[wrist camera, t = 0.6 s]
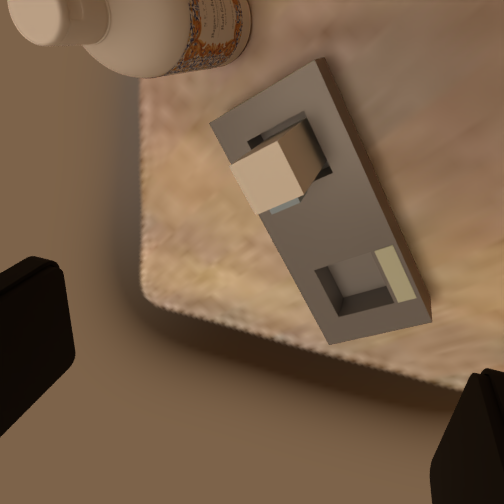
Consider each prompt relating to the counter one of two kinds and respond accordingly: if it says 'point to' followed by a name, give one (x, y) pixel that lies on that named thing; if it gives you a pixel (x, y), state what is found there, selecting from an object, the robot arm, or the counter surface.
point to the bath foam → (140, 31)
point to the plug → (280, 168)
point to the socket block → (333, 214)
